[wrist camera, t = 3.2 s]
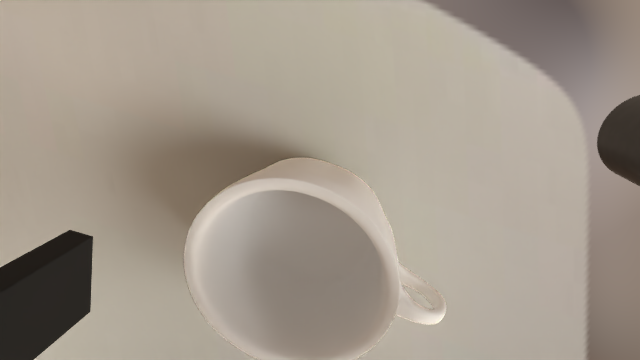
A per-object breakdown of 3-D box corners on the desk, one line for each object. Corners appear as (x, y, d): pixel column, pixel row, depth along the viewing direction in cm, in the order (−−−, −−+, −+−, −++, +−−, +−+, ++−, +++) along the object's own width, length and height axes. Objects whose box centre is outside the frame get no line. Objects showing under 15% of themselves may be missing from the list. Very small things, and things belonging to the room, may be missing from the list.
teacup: (221, 258, 21) (165, 323, 16) (260, 118, 18) (209, 141, 13) (405, 331, 20) (409, 424, 15) (472, 196, 18) (504, 252, 13)
